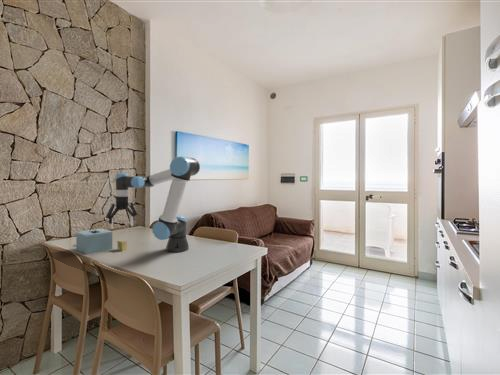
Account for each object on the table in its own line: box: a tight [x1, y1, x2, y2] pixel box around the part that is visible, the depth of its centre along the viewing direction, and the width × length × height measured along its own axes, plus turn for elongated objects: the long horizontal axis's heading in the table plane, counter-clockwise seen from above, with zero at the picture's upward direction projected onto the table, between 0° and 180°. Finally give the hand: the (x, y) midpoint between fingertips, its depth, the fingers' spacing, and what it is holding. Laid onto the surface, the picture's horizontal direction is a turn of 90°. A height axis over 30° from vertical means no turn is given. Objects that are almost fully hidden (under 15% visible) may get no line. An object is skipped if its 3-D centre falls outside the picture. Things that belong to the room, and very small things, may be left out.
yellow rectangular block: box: [117, 239, 127, 252], centre depth 176 cm, size 6×3×6 cm, turn 54°
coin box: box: [75, 228, 113, 255], centre depth 176 cm, size 16×16×12 cm
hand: (122, 227), depth 177 cm, fingers open, 13 cm apart
